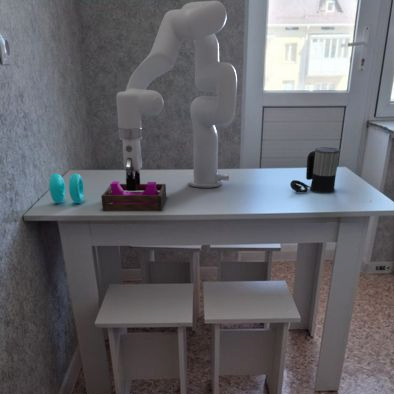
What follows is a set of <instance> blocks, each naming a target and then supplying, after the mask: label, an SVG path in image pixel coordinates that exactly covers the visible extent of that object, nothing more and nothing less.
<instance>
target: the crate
mask: <svg viewBox="0 0 394 394" xmlns="http://www.w3.org/2000/svg"><path fill="white" fill-rule="evenodd" d="M146 184H147V183H140V184H139V185H136V191H130V192H131V193H141V192H143V191H144V190H145V189H146ZM120 186H121V188H122V189H123V190H124V191H125V192H126V193H128V192H129V191H127V188H126V183H120ZM156 189H158V195H112V192H111V183H110V184H109V186H108V188H106V190H105V191H104V192H103V193H102V194H101V196H100V197H101V207H102V211H112V212H113V211H116V212H117V211H118V212H119V211H126V212H128V211H129V212H131V211H132V212H135V211H138V212H139V211H140V212H143V211H145V212H148V211H149V212H153V211H154V212H162V211H163V206H164V204H165V201H166V199H167V184H166V183H156ZM113 202H158V203H157V204H124V203H113Z"/></svg>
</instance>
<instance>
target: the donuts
mask: <svg viewBox="0 0 394 394" xmlns="http://www.w3.org/2000/svg"><path fill="white" fill-rule="evenodd" d="M84 186H85V184H84V180H83V178H82V175H80V174H79V173H73V174H71V176H70V178H69V181H68V193H69V196H70V198H71V200H72V202H73V203H75V204H81V203H82V202H83V200H84V197H85V187H84ZM66 191H67V190H66V183H65V181H64V177H63V176H62V175H61V174H59V173H57V172H56V173H53V174H51V176H50V178H49V195H50V197H51V199H52V201H53V202H54V203H55V204H61V203H63V202H64V201H65V198H66Z"/></svg>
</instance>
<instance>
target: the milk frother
mask: <svg viewBox="0 0 394 394" xmlns="http://www.w3.org/2000/svg"><path fill="white" fill-rule="evenodd" d="M340 152H341V149H340V148H336V147H327V146H326V147H325V146H324V147H323V146H322V147H316V148H315V149H314V150H313V151H311V152H309V154H308V155H307V158H306V171H305V172H306V174H305V175H306V176H305V178H306V180H308V181H311V183H310V186H309V185H308V184H306V183H305V182H302V181H300V180H295V179H293V180H291V181H290V183H289V184H290V185H289V187H290V188H291V189H292V190H293V191H295V193H300V194H301V193H303V194H304V193H308V191H309V190H310V191H311V192H315V193H320V194H330V193H333V192H335V185H336V176H337V171H338V165H339V164H338V163H339V158H340ZM302 188H303V189H302Z"/></svg>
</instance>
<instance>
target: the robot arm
mask: <svg viewBox="0 0 394 394" xmlns="http://www.w3.org/2000/svg"><path fill="white" fill-rule="evenodd" d="M227 15H228V14H227V9H226V7H225V5H224V4H223V3H222V2H221V1H218V0H206V1H205V0H203V1H191V2H188V3H185V4H184V5H183V6H182V7H181V8H179V9H171V10H168V11H166V13H165V14H164V16H163V17H162V20H161V22H160V24H159V28H158V31H157V34H156V37H155V39H154V41H153V44H152V47H151V49H150V52H149V54H148V55H147V57H145V58H144V59H143V60H142V61H141V63H140V64H139V65H138V66H137V67H136V68H135V69H134V71H133V72H132V74H131V76H130V77H129V80H128V82H127V84H126V87H125V90H124V91H119V92H117V94H116V96H115V97H116V112H117V113H116V114H117V126H118V138H119V140H121V141H122V157H123V169H124V171H125V184H126V188H127V191H126V192H137V191H136V185H139V184H141V173H140V170H141V169H142V167H143V159H142V148H141V147H142V146H141V140H142V139H143V129H142V128H143V127H142V116H147V117H149V116H150V117H154V116H157V115H159V114H160V113H161V112H162V111H163V109H164V105H165V101H164V98H163V96H162V95H161V93H160V92H158V91H156V90H152V89H147V88H148V87H149V86H150V84H151V83H152V82H153V81H155V80H156V79H158V78H159V77H161V76H163V75H164V74H166V73H168V72H169V71H171V70H172V69H173V68H174V67H175V64H176V62H177V60H178V56H179V54H180V51H181V48H182V46H183V43H184V42H185V41H193V46H194V84H195V87H196V89H197V90H199V91H200V92H206V93H216V96H212V95H199V96H197V97H196V98H194V99H193V100H192V101H191V104H190V108H189V114H190V119H191V124H192V125H191V127H192V139H193V140H192V141H193V142H192V145H193V147H192V148H193V151H192V152H193V153H192V154H193V155H192V159H193V162H192V163H193V179H191V180H189V186H190V187H193V188H199V189H213V188H216V187H220V186H221V185H222V181H230V175H228V174H221V173H219V170H218V165H219V163H218V162H219V135H218V130H217V129H216V127H228V126H230V125H231V124H232V123H233V121H234V119H235V116H236V108H237V87H238V77H237V71H236V69H235V67H234V66H233V64H231V63H229V62H228V61H227V62H226V61H220V50H219V49H220V46H219V45H220V44H219V41H218V38H217V36H216V34H217V33H219V32H220V31H221V30H222V29H223V28H224V27H225V25H226V22H227V17H228V16H227Z"/></svg>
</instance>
